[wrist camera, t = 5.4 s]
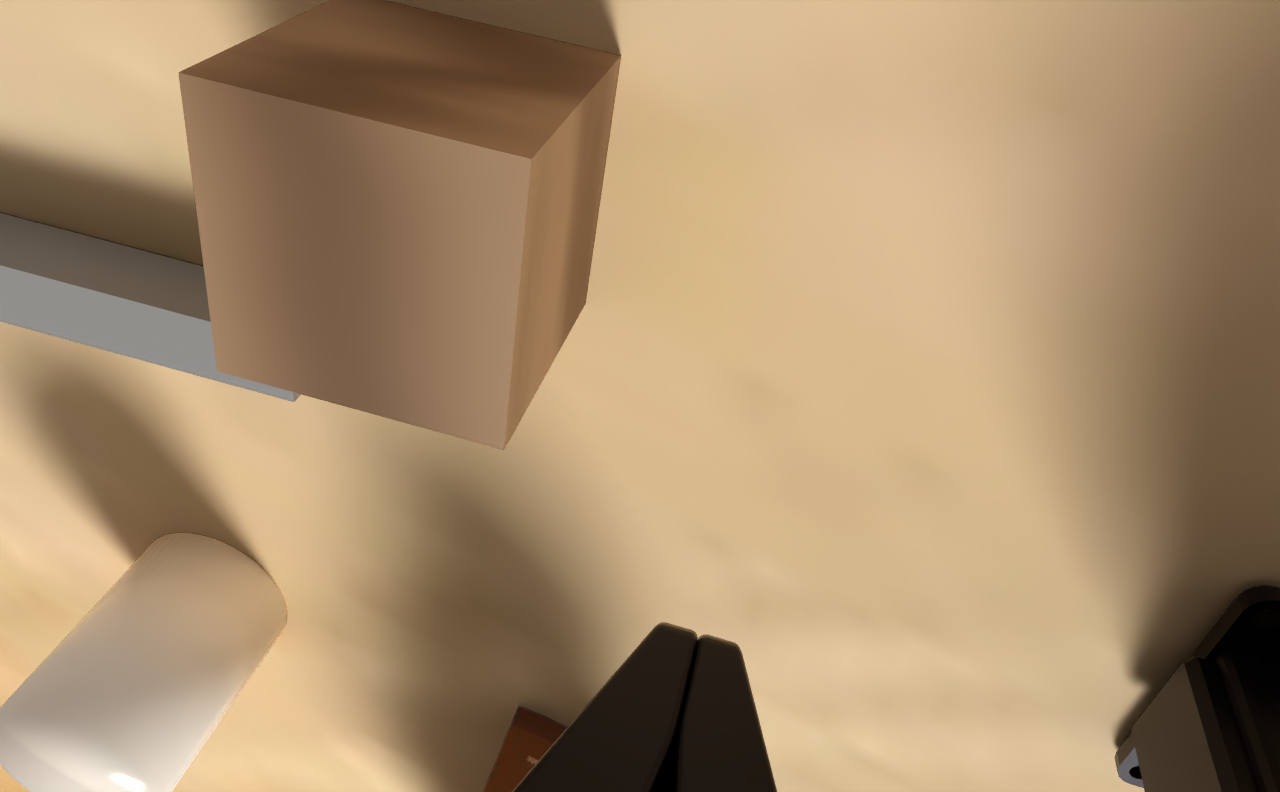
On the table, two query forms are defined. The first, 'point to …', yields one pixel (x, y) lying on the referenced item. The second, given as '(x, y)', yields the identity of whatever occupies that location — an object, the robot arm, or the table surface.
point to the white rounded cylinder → (144, 672)
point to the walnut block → (398, 208)
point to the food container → (522, 749)
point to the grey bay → (110, 299)
